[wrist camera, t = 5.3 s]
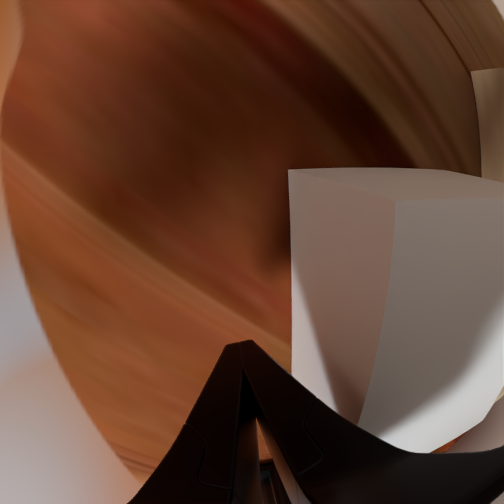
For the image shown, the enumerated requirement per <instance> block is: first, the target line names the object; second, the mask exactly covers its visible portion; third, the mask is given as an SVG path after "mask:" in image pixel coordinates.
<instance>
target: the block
mask: <svg viewBox="0 0 504 504" xmlns="http://www.w3.org/2000/svg"><path fill="white" fill-rule="evenodd" d="M288 182H289V204H290V232H291V273H292V376H293V377H294V378H295V379H296V380H298V381H299V382H300V383H301V384H302V385H303V386H305V387H306V388H307V389H308V390H309V391H310V392H312V393H313V394H314V395H315V396H316V397H317V398H319V399H320V400H321V401H322V402H324V403H325V404H326V405H327V406H329V407H330V408H331V409H333V410H334V411H335V412H337V413H338V414H339V415H341V416H342V417H344V418H345V419H347V420H349V421H350V422H352V423H353V424H355V425H357V426H358V427H360V428H362V429H364V430H366V431H367V432H369V433H371V434H373V435H374V436H376V437H378V438H380V439H382V440H384V441H386V442H387V443H389V444H391V445H393V446H395V447H397V448H400V449H403V450H406V451H410V452H416V453H429V452H431V451H433V450H435V449H437V448H439V447H441V446H442V445H444V444H446V443H448V442H449V441H451V440H453V439H455V438H456V437H458V436H459V435H461V434H463V433H464V432H466V431H467V430H469V429H470V428H472V427H473V426H475V425H477V424H478V423H479V422H481V421H482V420H483V419H484V418H485V416H486V414H487V413H488V411H489V410H490V408H491V407H492V405H493V403H494V402H495V400H496V398H497V397H498V395H499V393H500V391H501V390H502V388H503V386H504V183H501V182H497V181H493V180H489V179H485V178H480V177H476V176H471V175H467V174H462V173H457V172H452V171H446V170H435V169H413V168H314V169H291V170H288Z"/></svg>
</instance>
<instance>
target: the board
mask: <svg viewBox="0 0 504 504" xmlns="http://www.w3.org/2000/svg"><path fill="white" fill-rule="evenodd" d="M470 72H471V77H472V82H473V87H474V93H475V99H476V106H477V114H478V122H479V133H480V146H481V170H482V178H485V179H489V180H493V181H497V182H501V183H504V67H503V68H493V69H485V70H477V71H470ZM503 395H504V386H503V388H502V390H501V391H500V393H499V395H498V397H497V398H496V400H495V402H496V401H497V400H498V399H499V398H501V397H502V396H503Z"/></svg>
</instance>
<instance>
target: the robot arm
mask: <svg viewBox="0 0 504 504" xmlns="http://www.w3.org/2000/svg"><path fill="white" fill-rule="evenodd" d="M256 418H257V421H258V424H259V426H260V429H261V431H262V434H263V436H264V439H265V441H266V444H267V446H268V449H269V451H270V454H271V456H272V459H273V461H274V464H270V465H265V466H260V464H259V451H258V439H257V426H256ZM127 504H504V445H503V446H501V447H499V448H495V449H492V450H487V451H480V452H466V453H465V452H464V453H416V452H410V451H406V450H403V449H400V448H397V447H395V446H393V445H391V444H389V443H387V442H386V441H384V440H382V439H380V438H378V437H376V436H374V435H373V434H371V433H369V432H367V431H366V430H364V429H362V428H360V427H358V426H357V425H355V424H353V423H352V422H350V421H349V420H347V419H345V418H344V417H342V416H341V415H339V414H338V413H337V412H335V411H334V410H333V409H331V408H330V407H329V406H327V405H326V404H325V403H324V402H322V401H321V400H320V399H319V398H317V397H316V396H315V395H314V394H313V393H312V392H310V391H309V390H308V389H307V388H306V387H305V386H303V385H302V384H301V383H300V382H299V381H298V380H296V379H295V378H294V377H293V376H292V375H291V374H290V373H288V372H287V371H286V370H285V369H284V368H283V367H282V366H280V365H279V364H278V363H277V362H276V361H275V360H274V359H273V358H272V357H270V356H269V355H268V354H267V353H266V352H265V351H264V350H263V349H262V348H261V347H259V346H258V345H257V344H256V343H255V342H254V341H253V340H246V341H241V342H236V343H231V344H227V345H226V346H225V348H224V349H223V351H222V353H221V355H220V357H219V359H218V361H217V363H216V365H215V367H214V369H213V371H212V373H211V375H210V376H209V378H208V380H207V382H206V384H205V386H204V388H203V390H202V392H201V394H200V396H199V397H198V399H197V401H196V403H195V405H194V407H193V409H192V411H191V413H190V414H189V416H188V418H187V420H186V422H185V424H184V425H183V427H182V429H181V431H180V433H179V435H178V436H177V438H176V440H175V441H174V443H173V445H172V447H171V448H170V450H169V451H168V453H167V454H166V455H165V457H164V458H163V460H162V461H161V463H160V464H159V465H158V467H157V468H156V469H155V471H154V472H153V473H152V475H151V476H150V477H149V478H148V480H147V481H146V482H145V484H144V485H143V486H142V488H141V489H140V490H139V491H138V493H137V494H136V495H135V496H134V497H133V499H131V501H129V502H128V503H127Z"/></svg>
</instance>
